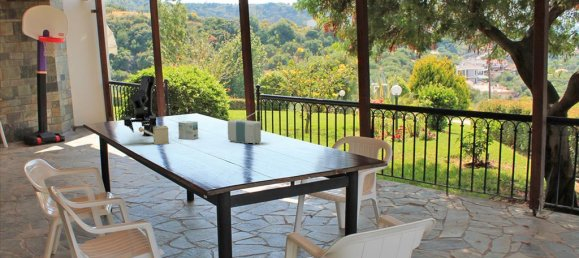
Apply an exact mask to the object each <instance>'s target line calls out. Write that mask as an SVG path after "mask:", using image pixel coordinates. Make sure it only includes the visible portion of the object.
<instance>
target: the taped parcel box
mask: <svg viewBox="0 0 579 258" xmlns="http://www.w3.org/2000/svg"><path fill="white" fill-rule="evenodd" d="M258 112H259V110H257V111H255V112H254V113H251V114H249V115H248V116H246V117H244V118H242V119H236V118H235V119H231V120H227V140H228V141H229V142H231V141H232V143H233V142H235V143H240V142H241V143H242V144H248V143H253V144H252V145H254V144H255V143H257V144H259V143H258V142H260V143H261V141H262V127H261V126H262V122H261V121H255V120H246V119H247V118H250V117H251V116H252V115H255V113H258ZM255 145H256V144H255Z"/></svg>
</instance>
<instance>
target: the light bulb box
mask: <svg viewBox="0 0 579 258" xmlns="http://www.w3.org/2000/svg"><path fill="white" fill-rule="evenodd" d="M177 123H178V125H177V126H178V127H177V128H178V139H179V140H195V139H199V123H198V121H190V120H189V121H188V120H182V121H178V122H177Z"/></svg>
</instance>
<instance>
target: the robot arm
mask: <svg viewBox="0 0 579 258" xmlns="http://www.w3.org/2000/svg"><path fill="white" fill-rule="evenodd" d="M140 79H141V80H140V81H141V82H140V83H139V84H140V85H139V89H138V91H136V92H134V93H133V94H131V95H130V97H129V98H130V102H131V103H132V106H133V109H134V110H133V111H134V118H132V117H131V116H124V117H123V126H125V127H127V128H129V129H130V130H131V132H132V133H134V132H135V131H134V126H133V123H141V127H143V129H144V130H147V131H149V132H151V133H153V126H158V124H157V116H156V115H155V114H154V113H153V89H154V88H155V85H156V82H157V78H156V76H154V75H142V76H141V77H140ZM142 136H145V137H146V136H147V137H152V135H150V134H148V133H146V132H144V131H143V134H142Z"/></svg>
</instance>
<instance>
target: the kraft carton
mask: <svg viewBox="0 0 579 258" xmlns="http://www.w3.org/2000/svg"><path fill="white" fill-rule="evenodd" d="M153 134H154V136H153V143H154V145H166V144H169V143H170V142H169V127H168V126H167V125H157V126H153Z"/></svg>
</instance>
